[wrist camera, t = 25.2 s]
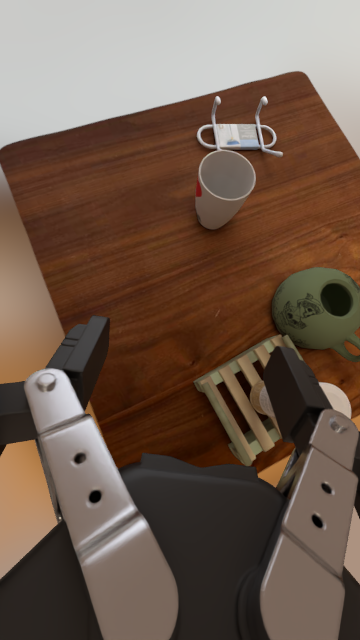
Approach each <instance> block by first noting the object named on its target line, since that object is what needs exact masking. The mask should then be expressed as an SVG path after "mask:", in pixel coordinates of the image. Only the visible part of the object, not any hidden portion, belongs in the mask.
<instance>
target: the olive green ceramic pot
mask: <svg viewBox="0 0 360 640" xmlns="http://www.w3.org/2000/svg"><path fill="white" fill-rule="evenodd" d="M272 317H273V319H274V322H275V324H276V327H277V329H278V330H279V332H280V333H281V334H282V335H283V336H285V335H288V336H289V338H290V339H291V341H292V342H293V344H295V345H297V346H299V347H301V348H310V349H321V350H323V349H326V348H332V349H334V350H335V351H336V352H338V353H339V354H340V355H341V356H343V357H344V358H346V359H347V360H350V361H353V362H359V361H360V355H359V356H354V355H352V354H351V353H349V352H348V351H347V349H346V348H345V346H344V341H346V340H347V341H348V342H350V343H352V344H353V345H355V346H356V347H357V348H358V349H359V350H360V339H359V338H358V337H357V336H356V335H355V334H354V332H355V331H356V330H357V329H358V328H359V326H360V288H359V286H358V285H357V284H356V282H355V281H354V280H353V279H352V278H351V277H350V276H348V275H347V274H345V273H343V272H341V271H339V270H337V269H329V268H321V267H316V268H311V269H307V270H304V271H300V272H297V273H295V274H292V275H291V276H289V277H288V278H287V279H286V280H285V281H284V282H283V283H282V284H281V285H280V286H279V287H278V289H277V291H276V293H275V295H274V298H273V300H272Z"/></svg>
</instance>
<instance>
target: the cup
mask: <svg viewBox="0 0 360 640" xmlns="http://www.w3.org/2000/svg"><path fill="white" fill-rule="evenodd" d="M255 181H256V176H255V171H254V169H253V167H252V165H251V164H250V162H249V161H248V160H247V159H246V158H245V157H243V156H242V155H240V154H238V153H236V152H234V151H230V150H218V151H214V152H212V153H210V154H208V155H207V156H206V157H205V158H204V159H203V160H202V162H201V164H200V167H199V173H198V180H197V186H196V212H197V217H198V220H199V222H200V224H201V225H202V226H204V227H205V228H208V229H218V228H220V227H221V226H223V225H224V224H225V223H227V222H228V221H229V220H230V219H231V218H232V217H233V216H234V215H235V214H236V213H237V211H238V210H239V209H240V208H241V206H242V205H243V203H244V202H245V200H246V199H247V197H248V196H249V194H250V193H251V191H252V190H253V188H254V185H255Z"/></svg>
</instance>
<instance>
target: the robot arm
mask: <svg viewBox="0 0 360 640" xmlns="http://www.w3.org/2000/svg"><path fill="white" fill-rule="evenodd" d="M109 329H110V318H107V317H101V316H95V315H93V316H92V317H91V319H90V320H89V322H88V324H87V325H83V324H78V325H77V326H75V327H74V328H72V329H71V330H70V331H69V332H68V334H67V335H66V337H65V339H64V340H63V342H62V343H61V345H60V346H59V348H58V349H57V351H56V353H55V354H54V355H53V357H52V358H51V360H50V361H49V363H48V365H47V366H46V368H45V369H42V370H39V371H37V372H35V373H33V374H32V375H30V376H29V377H28V378H27V380H26V381H22V382H15V383H6V384H0V456H1V454H2V452H3V450H4V449H5V447H6V445H7V444H10V443H16V442H22V441H28V440H34V439H35V442H36V446H37V449H38V453H39V456H40V459H41V463H42V467H43V470H44V474H45V477H46V481H47V485H48V488H49V493H50V497H51V501H52V505H53V508H54V512H55V515H56V519H57V522H58V524H57V525H56V526H55V527H54V528H53V529H52V530H51V531H50V532H49V533H48V534H47V535H46V536H45V537H44V538H43V539H42V540H41V541H40V542H39V543H38V544H37V545H36V546H35V547H34V548H33V549H32V550H31V551H29V553H27V554H26V555H25V556H24V557H23V558H22V559H21V560H20V561H19V562H18V563H17V564H16V565H15V566H14V567H13V568H12V569H11V570H10V571H9V572H8V573H7V574H6V575H5V576H3V577H2V578H1V579H0V640H360V584H359V583H358V582H357V581H356V579H355V578H354V577H353V576H352V575H351V574H350V572H349V571H348V570H347V569H346V568H345V567H344V565H343V564H344V559H345V553H346V547H347V541H348V536H349V530H350V524H351V518H352V513H353V507H354V506H355V509H356V511H357V513H358V516H359V518H360V432H359V431H358V429H357V427H356V425H355V424H354V423H353V422H352V421H351V420H350V419H349V418H348V417H347V416H346V415H344V414H343V413H341V412H339V411H336V410H334V409H333V407H332V405H331V404H330V402H329V400H328V398H327V396H326V395H325V393H324V391H323V389H322V388H321V386H319V382H318V380H317V379H316V378H315V375H314V373H313V372H312V370H311V368H310V367H309V366H308V365H307V364H306V363H305V362H304V361H303V360H300V359H299V357H298V355H297V353H296V352H295V350H294V349H293V348H288V347H282V346H276V347H275V348H274V350H273V352H272V354H271V356H270V358H269V360H268V362H267V364H266V366H265V369H264V372H263V381H264V384H265V387H266V390H267V393H268V396H269V399H270V402H271V406H272V409H273V412H274V415H275V418H276V421H277V424H278V427H279V430H280V433H281V436H282V439H283V442H290V443H294V444H295V449H294V450H293V452H292V454H291V456H290V458H289V461H288V463H287V465H286V467H285V470H284V472H283V474H282V476H281V478H280V481H279V483H278V485H277V487H276V488H275V487H273V486H272V485H271V484H269V483H268V482H266V481H264V480H262V479H260V478H258V475H257V470H256V467H250V466H242V465H234V464H224V465H218V466H211V467H205V468H199V467H196V466H194V465H191V464H188V463H186V462H183V461H181V460H178V459H176V458H173V457H170V456H163V455H155V454H147V453H142V458H141V462H138V463H133V464H129V465H126V466H124V467H121V468H119V469H117V467H116V465H115V463H114V461H113V459H112V457H111V455H110V453H109V451H108V449H107V447H106V444H105V442H104V440H103V438H102V436H101V434H100V432H99V430H98V428H97V426H96V424H95V422H94V420H93V418H92V416H91V415H90V414H85V409H86V407H87V404H88V402H89V399H90V397H91V394H92V392H93V389H94V387H95V384H96V381H97V379H98V376H99V374H100V371H101V369H102V366H103V364H104V361H105V359H106V356H107V352H108V347H109Z"/></svg>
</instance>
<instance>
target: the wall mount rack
mask: <svg viewBox="0 0 360 640" xmlns="http://www.w3.org/2000/svg"><path fill="white" fill-rule="evenodd" d="M267 103H268V101H267V98H266V97H262V99H261V101H260V104H259V107H258V109H257V112H256V123H257V125H255V124H216V123H215V111H216V106H217V105H220V104H221V101H220V98H219V97H216V98H215V101H214V105H213V110H212V123H213V125H205V126H203V127H201V128H200V129H199V130H198V132H197V138H198V141H199V142H200V144H201V145H202V146H204V147H206V148H210V149H217V151H218V150H257V149H259V148H260V149H262V151H263V152H266V153H269V154H272V155H275V156H276V157H282V156H283V153H282V152H275V151H272V150H268V149H265V148H270V147H272V146H273V145H274V144H275V142H276V134H275V132H274V131H273V130H272V129H271V128H270V127H268V126H265V125H260V123H259V112H260V110H261V107H262V104H264V105H267ZM211 128H213V129H214V135H215V141H216V145H208V144H206V143H204V142H203V141H202V139H201V137H200V134H201V132H202V131H203V130H205V129H211ZM256 128H257V129H258V134H259V140H260V145H259V143H258V138H257V133H256ZM261 129H266V130H268V131H269V132H270V133H271V134H272V136H273V142H272V143H271V144H269V145H264V143H263V138H262V133H261Z"/></svg>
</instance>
